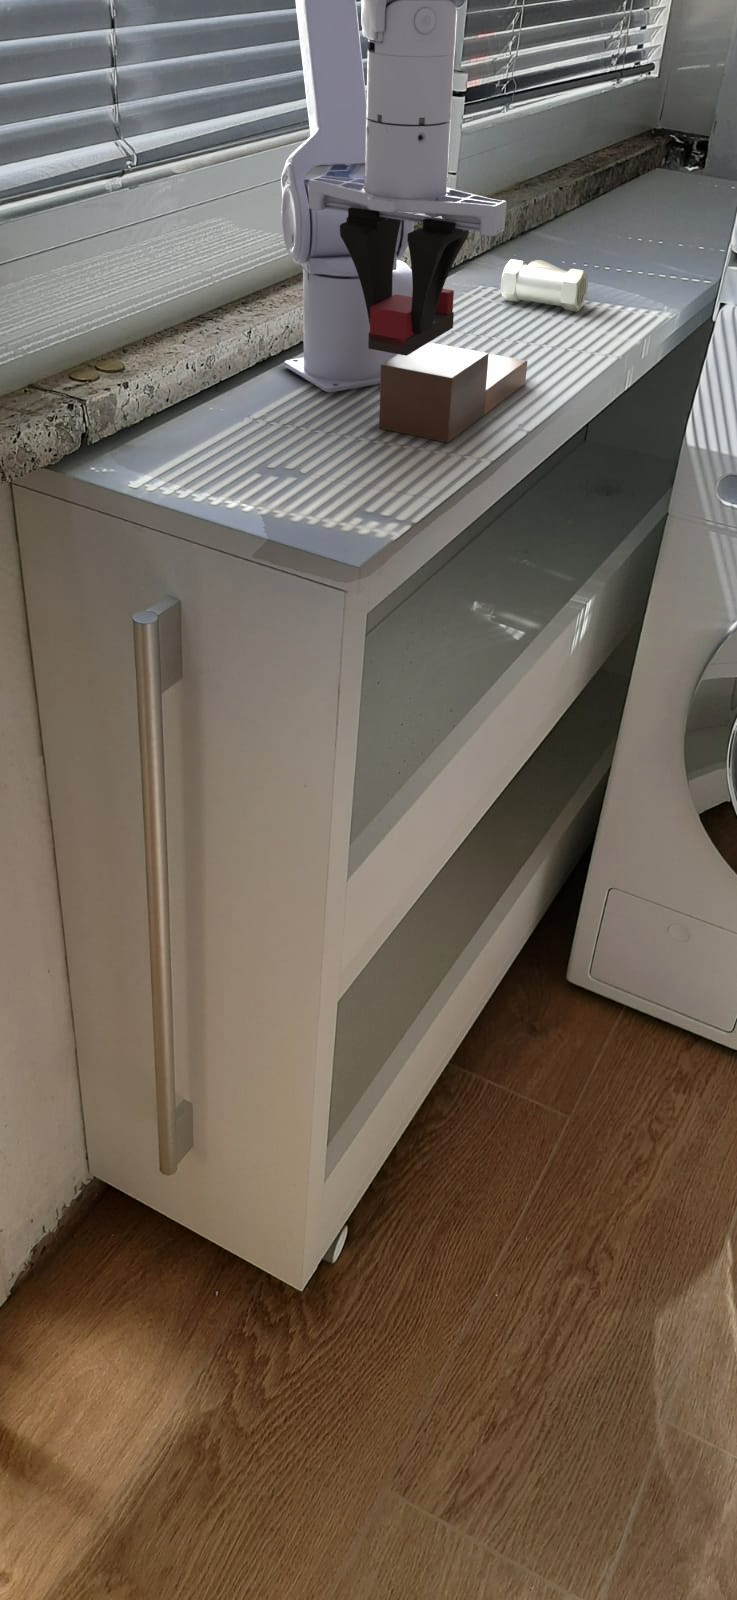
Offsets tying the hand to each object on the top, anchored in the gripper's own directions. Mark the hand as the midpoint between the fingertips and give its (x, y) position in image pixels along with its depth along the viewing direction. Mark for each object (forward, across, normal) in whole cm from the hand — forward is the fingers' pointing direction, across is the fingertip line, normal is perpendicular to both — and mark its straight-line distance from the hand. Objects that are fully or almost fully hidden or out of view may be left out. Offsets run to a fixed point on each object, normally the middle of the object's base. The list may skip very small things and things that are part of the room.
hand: (400, 326), depth 93 cm
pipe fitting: (+9, -4, +42) cm, 43 cm away
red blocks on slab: (+1, 0, +2) cm, 2 cm away
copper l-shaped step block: (+8, +1, +9) cm, 12 cm away
